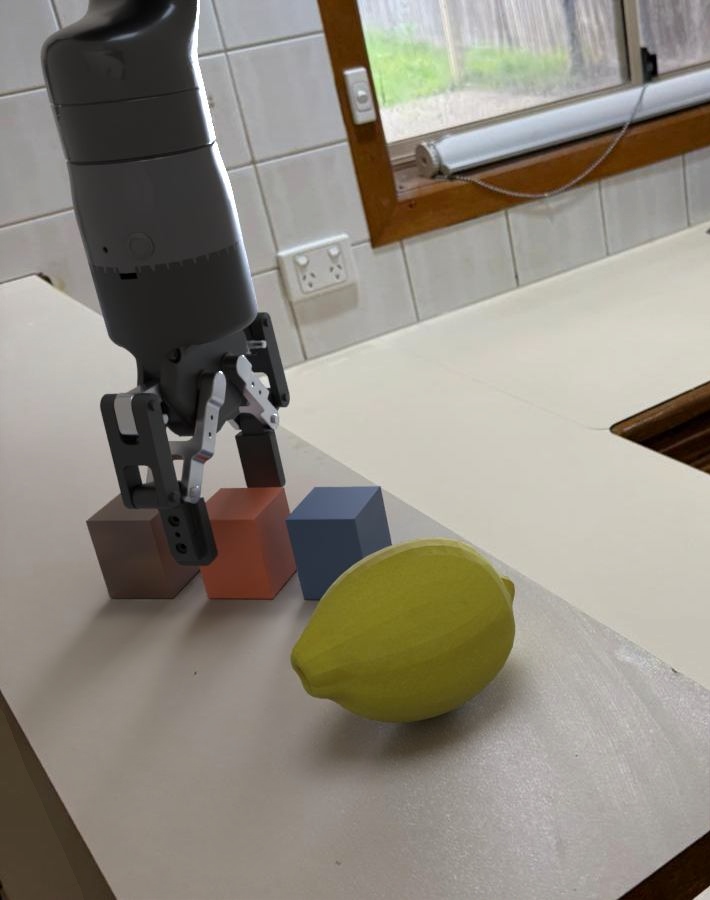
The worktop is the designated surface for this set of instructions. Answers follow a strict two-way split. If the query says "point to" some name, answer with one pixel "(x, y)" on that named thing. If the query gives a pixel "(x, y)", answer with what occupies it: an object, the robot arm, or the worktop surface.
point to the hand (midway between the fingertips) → (234, 524)
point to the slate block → (335, 533)
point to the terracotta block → (249, 543)
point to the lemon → (408, 632)
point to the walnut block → (135, 553)
